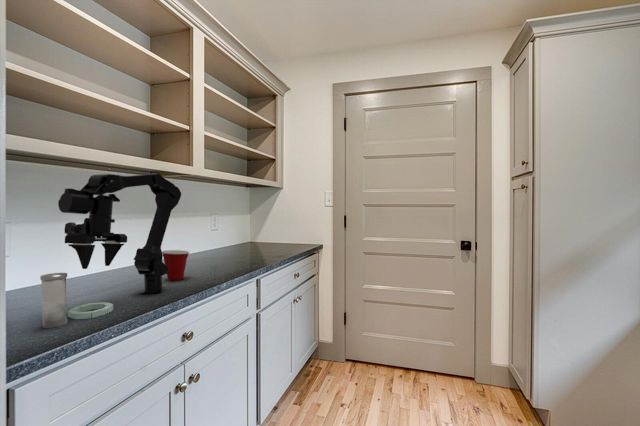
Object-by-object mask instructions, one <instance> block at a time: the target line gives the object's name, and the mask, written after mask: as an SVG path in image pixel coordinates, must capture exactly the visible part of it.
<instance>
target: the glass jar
mask: <svg viewBox="0 0 640 426" xmlns="http://www.w3.org/2000/svg"><path fill="white" fill-rule="evenodd" d="M39 277H40V281H41V303H42V304H41V307H42V308H41V309H42V312H41V313H42V316H41V317H42V328H44V329H53V328H59V327H62V326H65V325H66V324H67V323H68V296H67V295H68V294H67V293H68V290H67V289H68V288H67V278H68V273H67V272H54V273H46V274H42V275H40V276H39ZM67 325H68V324H67Z"/></svg>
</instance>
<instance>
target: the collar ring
mask: <svg viewBox="0 0 640 426" xmlns="http://www.w3.org/2000/svg"><path fill="white" fill-rule="evenodd" d="M90 310H91V311H90ZM113 311H114V303H111V302H107V301H105V302H104V301H103V302H90V303H85V304H81V305H77V306H74V307H72V308H70V309H69V310H67V318H70V319H72V320H87V319H94V318H99V317H101V315H102V316H105V314H106V315H108V314H110V313H111V312H113ZM109 312H110V313H109ZM107 313H108V314H107Z"/></svg>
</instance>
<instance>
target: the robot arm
mask: <svg viewBox="0 0 640 426" xmlns="http://www.w3.org/2000/svg"><path fill="white" fill-rule="evenodd" d="M141 186H148V187H149V188H150V192H151V193H152V194H154V196H155V197H154V199H155V200H154V201H155V204H156V210H155V212H154V217H153V220H152V223H151V227H150V229H149V232H148V236H147V239H146V241H145V242H146V243H145V245H144V246H143V247H142V248H140V247H139V248H136V254H135V256H134V258H133V261H134V263H133V264H134V267H135V268H136V270H137V273H138V274H139V275H143V278H144V279H143V281H144V285H143V287H144V289H143V290H142V291H141V292H140V294H141V295H145V294H159V293H160V294H161V293H163V291H164V290H165V289H166V286H163V276H165V275H167V272H168V267H167V266H166V265H165V262H164V261H163V259H164V258H163V254H162V251H163V250H162V243H163V242H164V237H165V233H166V230H167V227H168V223H169V220H170V216H171V213H172V211H173V209H175V208H176V206H177V205H178V204H179V202H180V199H181V197H182V192H181V190H180V188H179V187H178V186H176V185H175V184H174V183H173V182H171V181H169V180H168V179H166V178H164V176H162V174H160V173H156V172H155V173H152V172H151V173H146V174H136V175H120V174H114V173H113V174H111V173H105V174H102V173H101V174H91V176H90V177H89V178H88V180H87V183H86V184H85V185H84V186H83V187H82V188H81V189H75V188H70V187H69V188H64V192H63V193H62V194H61V195H60V198H59V199H58V201H57V202H58V203H57V204H58V209H59V211H60V212H61V213H64V214H66V213H67V214H77V215H88V214H89V215H88V217H85V218H84V219H83V220H84V221H83V223H79V224H76V222H67V223H65V225H64V234H66V235H65V236H64V244H67V245H68V247H71V248H72V249H74V250H75V251H76V253H77V256H78V259H79V261H80V265H81V268H82V269H83V270H87V269H88V267H89V264H90V262H91V259H92V256H93V254H94V253H93V252H94V250H95V247H96V244H95V242H101V246H102V247H103V248H104V265H105V266H106V267H109V266H111V264H112V262H113V260H114V259H115V257H116V256H117V254H118V252H119V251H120V250H121V248H122V247H123V246H124V245H125V243H128V236H127V235H126V234H125V233H115V232H112V231H111V230H112V223H116V222H115V220H116V219H115V218H114V219H113V217H112V216H113V208H114V207H113V206H114V205H113V204H114V203H115V202H116V203H119V202H120V201H121V199H119V198H118V197H117V196H116V194H115V193H116V192H119V191H122V190H124V189H126V188H131V187H132V188H134V187H141ZM105 194H108V195H105Z"/></svg>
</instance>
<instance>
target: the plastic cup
mask: <svg viewBox="0 0 640 426" xmlns="http://www.w3.org/2000/svg"><path fill="white" fill-rule="evenodd" d="M161 251H162V254H163V258H162V259H163V263H164V264H165V265H166V266H167V267H168V272H167V274H166V277H167V280H168V281H169V282H177V281H181V280H183V279H184V276H185V271H186V265H187V259H188V257H189V254H190V253H191V252H190V251H188V250H183V249H182V250H181V249H180V250H179V249H171V250H169V249H168V250H161Z"/></svg>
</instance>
